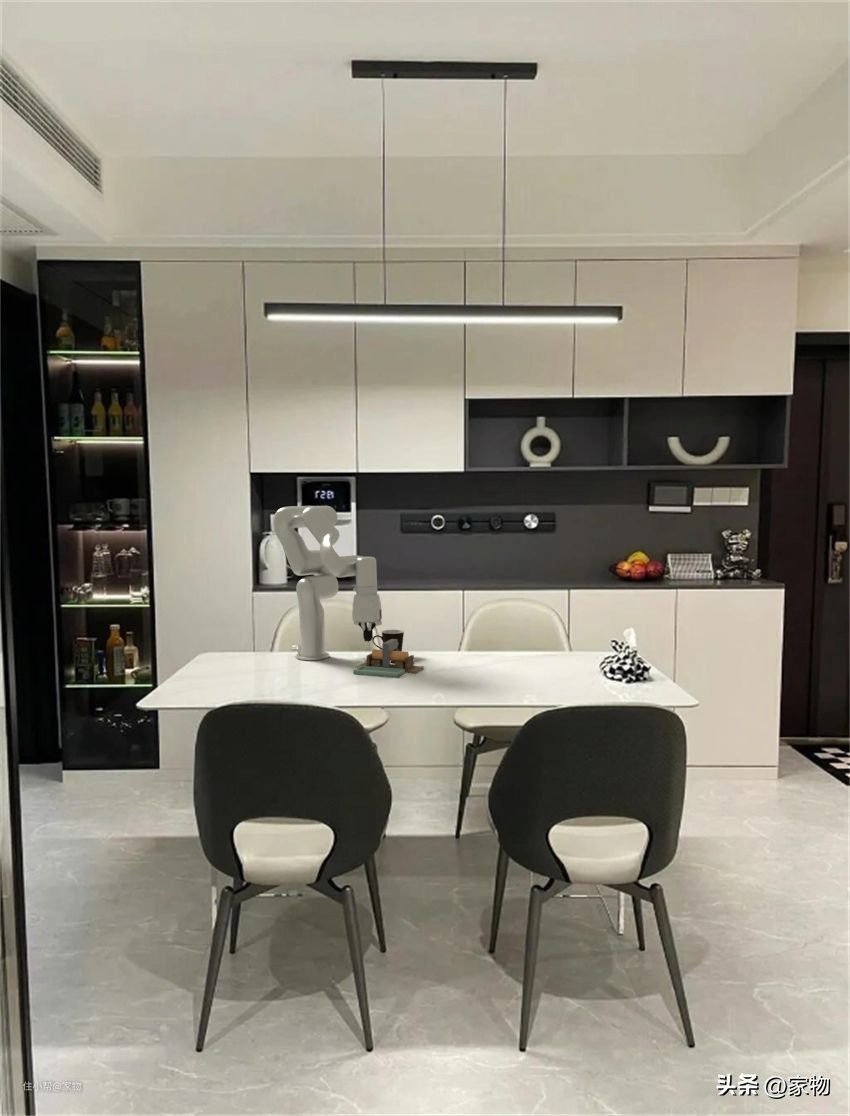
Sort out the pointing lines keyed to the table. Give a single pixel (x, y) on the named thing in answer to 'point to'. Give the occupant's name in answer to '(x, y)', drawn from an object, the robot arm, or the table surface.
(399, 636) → the coffee mug
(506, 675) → the table surface
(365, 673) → the felt tray
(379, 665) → the block
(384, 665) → the grey bracket
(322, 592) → the robot arm
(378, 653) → the tan rounded-end block
